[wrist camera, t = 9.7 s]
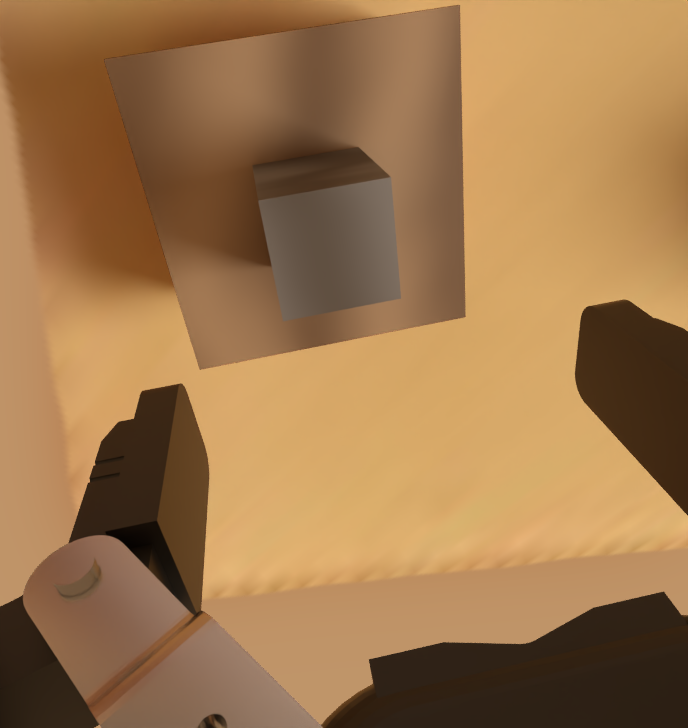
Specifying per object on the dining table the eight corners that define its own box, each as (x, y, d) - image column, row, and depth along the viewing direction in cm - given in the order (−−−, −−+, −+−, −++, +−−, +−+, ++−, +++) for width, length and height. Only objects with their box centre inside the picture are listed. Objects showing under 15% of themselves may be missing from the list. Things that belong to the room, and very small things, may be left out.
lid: (452, 5, 20) (524, -1, 15) (459, 309, 26) (511, 374, 22) (108, 58, 19) (66, 69, 14) (200, 360, 25) (193, 440, 21)
